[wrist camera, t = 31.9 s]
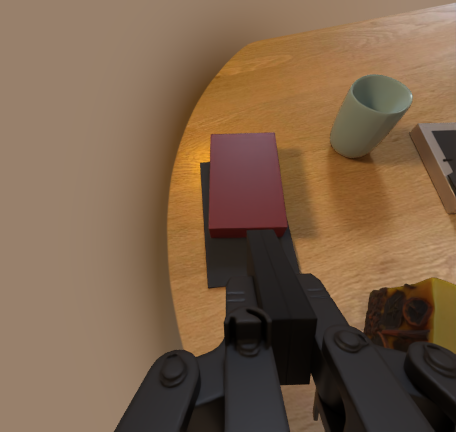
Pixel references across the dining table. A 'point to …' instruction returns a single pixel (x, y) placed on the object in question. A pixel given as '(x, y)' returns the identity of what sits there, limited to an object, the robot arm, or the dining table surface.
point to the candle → (413, 315)
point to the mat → (231, 245)
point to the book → (245, 185)
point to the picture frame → (439, 158)
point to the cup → (368, 114)
